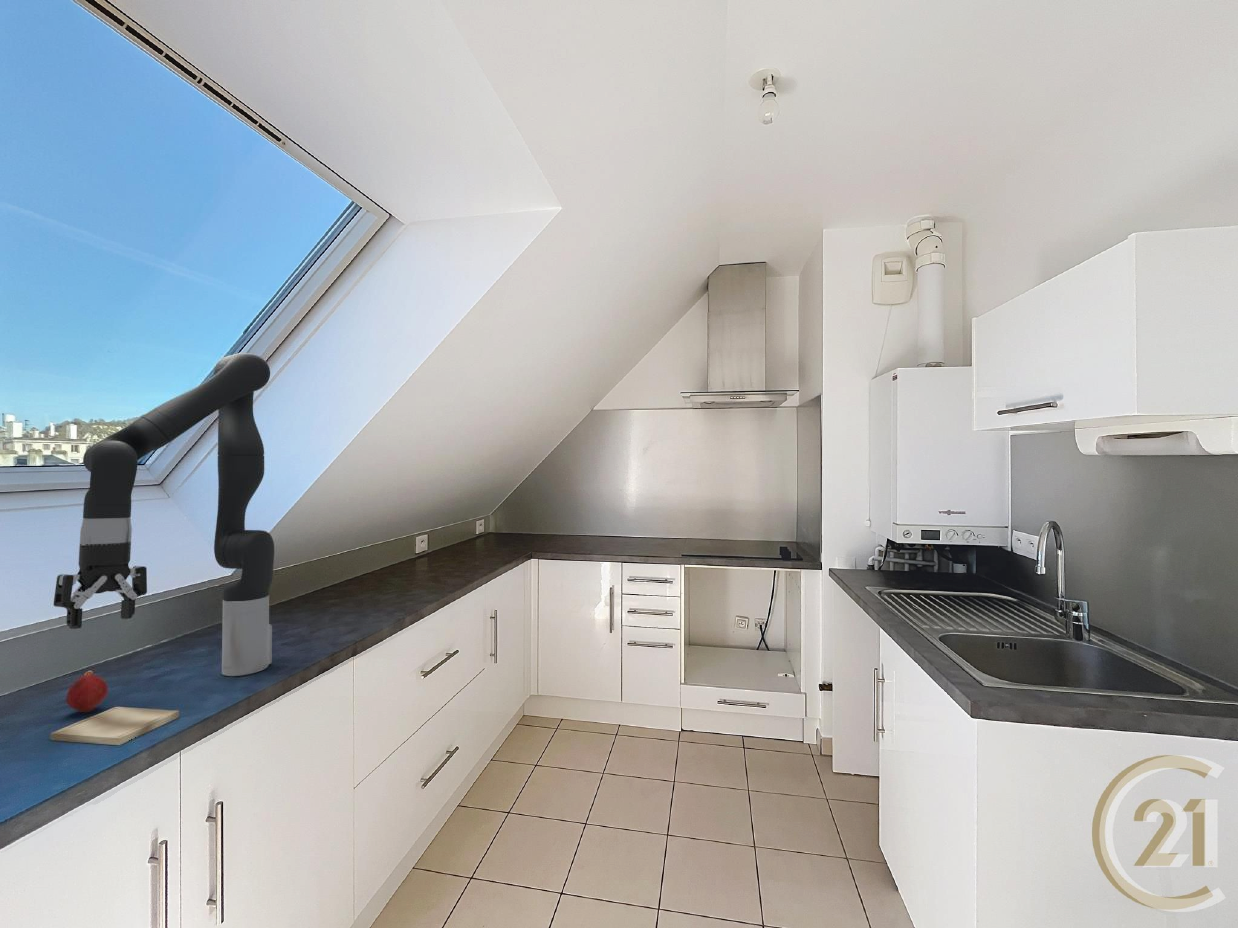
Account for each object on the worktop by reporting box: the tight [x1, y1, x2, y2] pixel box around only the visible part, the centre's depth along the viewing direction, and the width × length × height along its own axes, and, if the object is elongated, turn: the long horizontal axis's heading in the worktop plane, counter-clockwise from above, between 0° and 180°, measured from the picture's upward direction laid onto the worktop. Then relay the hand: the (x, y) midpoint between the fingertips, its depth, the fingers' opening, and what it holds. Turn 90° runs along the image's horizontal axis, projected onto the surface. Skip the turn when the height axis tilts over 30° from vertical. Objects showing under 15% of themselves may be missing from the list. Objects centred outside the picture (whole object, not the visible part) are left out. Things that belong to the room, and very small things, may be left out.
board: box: [50, 706, 180, 746], centre depth 100 cm, size 11×14×1 cm
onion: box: [65, 670, 109, 713], centre depth 107 cm, size 6×6×8 cm
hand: (101, 623), depth 108 cm, fingers open, 8 cm apart
